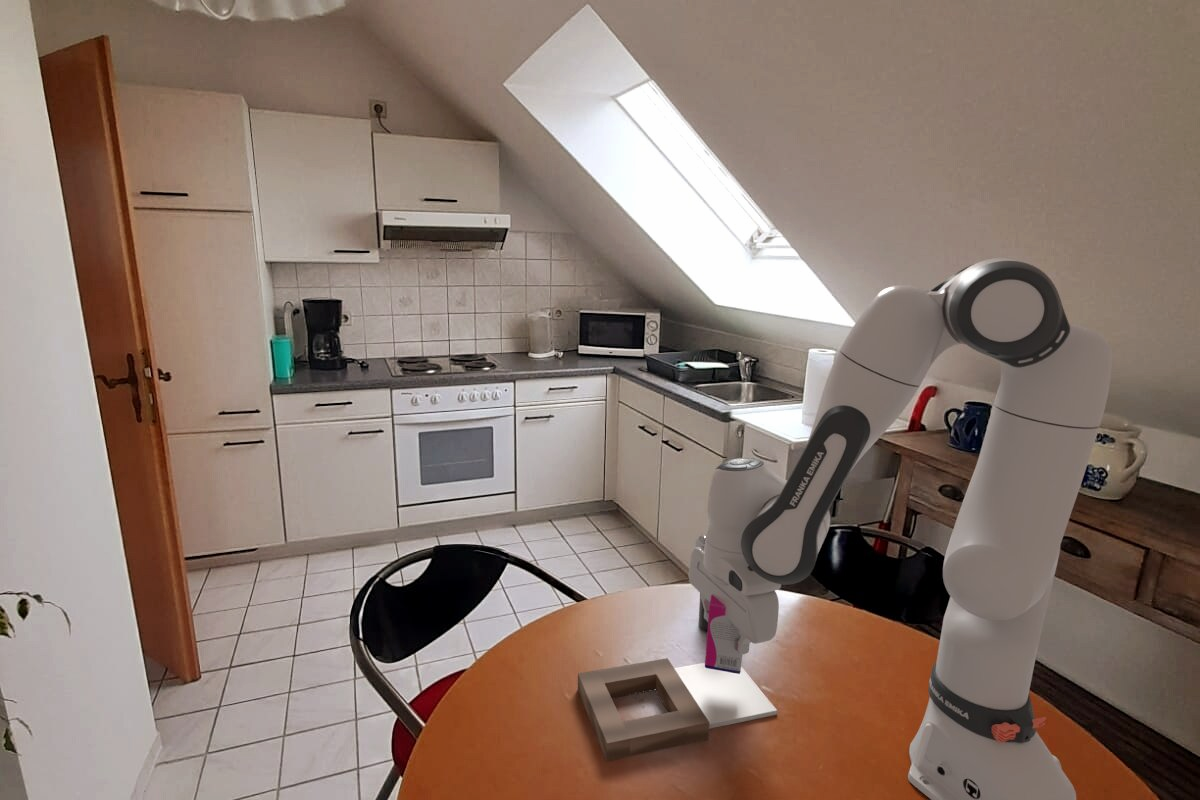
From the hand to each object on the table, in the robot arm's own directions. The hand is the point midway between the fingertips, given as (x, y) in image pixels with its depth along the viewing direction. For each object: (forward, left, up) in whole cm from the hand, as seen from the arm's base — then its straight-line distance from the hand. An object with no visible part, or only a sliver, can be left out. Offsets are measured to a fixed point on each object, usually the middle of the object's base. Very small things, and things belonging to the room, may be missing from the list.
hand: (725, 635), depth 103 cm
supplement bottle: (+18, -8, -11) cm, 22 cm away
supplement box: (0, 0, -5) cm, 5 cm away
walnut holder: (-1, +15, -11) cm, 18 cm away
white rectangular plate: (0, 0, -11) cm, 11 cm away
